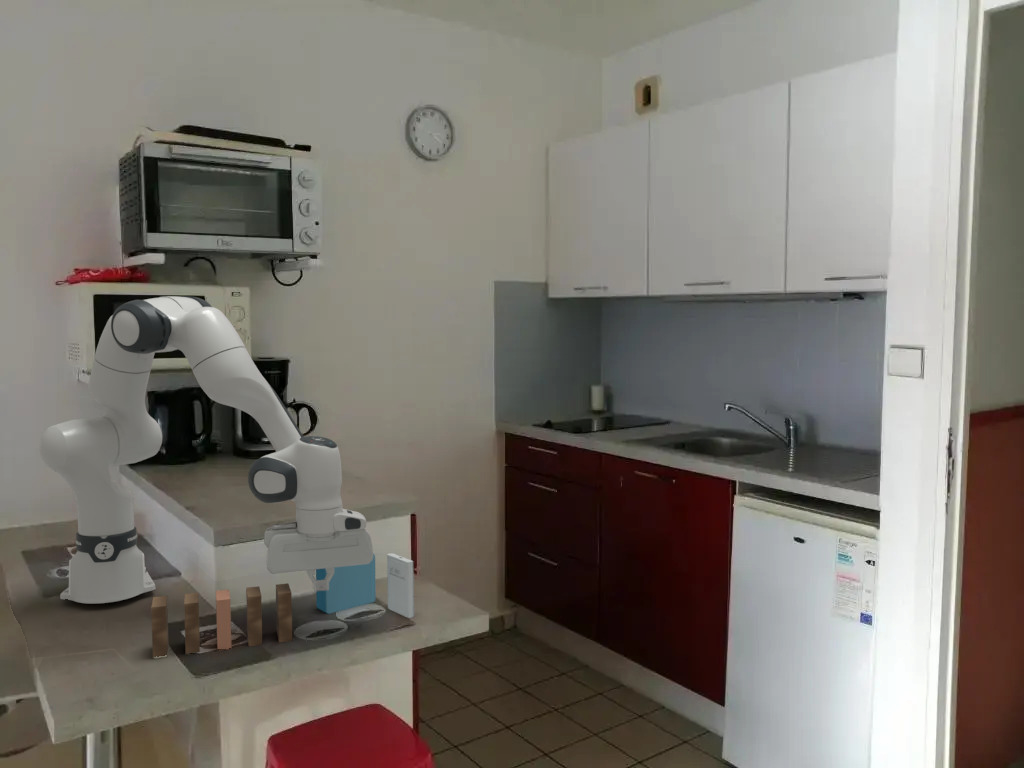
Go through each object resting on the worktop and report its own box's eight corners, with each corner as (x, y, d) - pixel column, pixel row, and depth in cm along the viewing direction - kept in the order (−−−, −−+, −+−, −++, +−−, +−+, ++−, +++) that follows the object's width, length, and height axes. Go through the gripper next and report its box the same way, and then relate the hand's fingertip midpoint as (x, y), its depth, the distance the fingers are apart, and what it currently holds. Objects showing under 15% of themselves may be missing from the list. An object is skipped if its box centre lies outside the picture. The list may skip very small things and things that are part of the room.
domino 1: (152, 661, 150) (151, 607, 149) (154, 649, 156) (153, 597, 155) (167, 660, 151) (165, 605, 150) (168, 647, 156) (167, 595, 156)
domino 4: (248, 649, 156) (247, 597, 155) (247, 638, 161) (246, 587, 161) (262, 647, 157) (261, 595, 156) (260, 636, 162) (259, 586, 162)
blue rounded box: (365, 599, 184) (364, 546, 183) (376, 604, 181) (375, 550, 180) (316, 612, 176) (315, 556, 175) (326, 617, 173) (325, 560, 172)
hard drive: (393, 609, 178) (392, 552, 177) (415, 620, 171) (414, 560, 171) (386, 611, 176) (386, 554, 176) (408, 622, 170) (408, 562, 169)
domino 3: (217, 653, 154) (216, 600, 153) (217, 641, 159) (215, 590, 159) (231, 651, 155) (230, 599, 154) (230, 640, 160) (229, 589, 160)
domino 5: (279, 645, 158) (278, 593, 157) (276, 634, 163) (275, 584, 163) (292, 644, 159) (291, 592, 158) (289, 633, 164) (288, 583, 163)
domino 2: (185, 657, 152) (184, 603, 151) (186, 645, 158) (184, 593, 157) (199, 655, 153) (198, 602, 152) (199, 644, 158) (198, 592, 158)
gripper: (264, 528, 155) (266, 601, 156) (374, 519, 162) (375, 589, 163) (262, 521, 161) (264, 591, 162) (368, 512, 168) (369, 580, 169)
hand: (320, 590), depth 163 cm, fingers closed
